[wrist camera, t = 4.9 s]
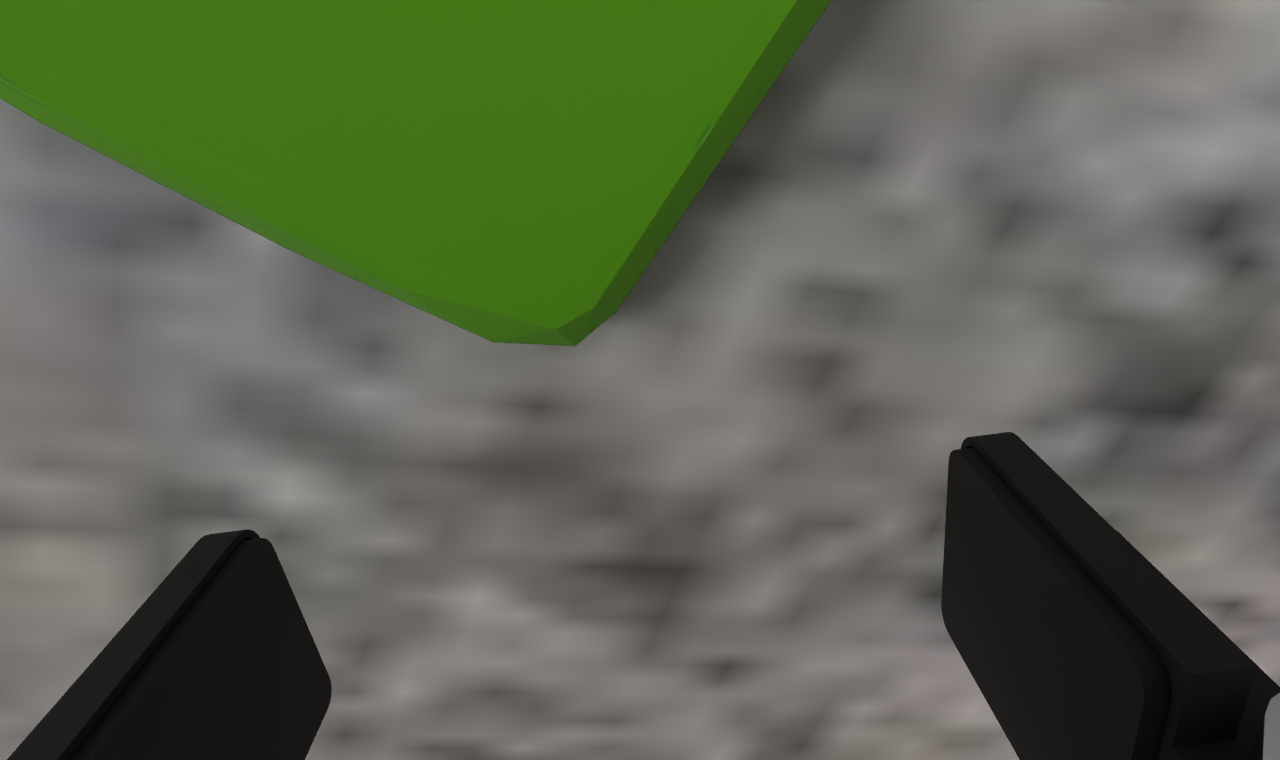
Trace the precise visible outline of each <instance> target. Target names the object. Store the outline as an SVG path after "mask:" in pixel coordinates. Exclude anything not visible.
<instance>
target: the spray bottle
mask: <svg viewBox="0 0 1280 760" xmlns="http://www.w3.org/2000/svg"><path fill="white" fill-rule="evenodd" d="M830 1H831V0H0V98H1V99H2V100H4V101H6V102H7V103H9V104H11V105H12V106H14V107H16V108H17V109H19V110H21V111H22V112H24V113H26V114H27V115H29V116H31V117H33V118H34V119H36V120H38V121H39V122H41V123H43V124H45V125H47V126H49V127H51V128H53V129H55V130H57V131H59V132H61V133H63V134H65V135H67V136H68V137H70V138H72V139H74V140H76V141H78V142H80V143H82V144H84V145H86V146H88V147H90V148H92V149H94V150H96V151H98V152H100V153H102V154H104V155H106V156H107V157H109V158H111V159H113V160H115V161H117V162H119V163H121V164H123V165H125V166H127V167H129V168H131V169H133V170H135V171H137V172H139V173H141V174H143V175H144V176H146V177H148V178H150V179H152V180H154V181H156V182H158V183H160V184H162V185H164V186H166V187H168V188H170V189H172V190H174V191H176V192H178V193H180V194H182V195H183V196H185V197H187V198H189V199H191V200H193V201H195V202H197V203H199V204H201V205H203V206H205V207H207V208H209V209H211V210H213V211H215V212H217V213H219V214H220V215H222V216H224V217H226V218H228V219H230V220H232V221H234V222H236V223H238V224H240V225H242V226H244V227H246V228H248V229H250V230H252V231H254V232H256V233H258V234H259V235H261V236H263V237H265V238H267V239H269V240H271V241H273V242H275V243H277V244H279V245H281V246H283V247H285V248H287V249H289V250H291V251H293V252H296V253H298V254H300V255H302V256H304V257H307V258H309V259H311V260H313V261H315V262H318V263H320V264H322V265H324V266H326V267H329V268H331V269H333V270H335V271H337V272H340V273H342V274H344V275H346V276H348V277H351V278H353V279H355V280H357V281H359V282H362V283H364V284H366V285H368V286H370V287H373V288H375V289H377V290H379V291H381V292H384V293H386V294H388V295H390V296H392V297H395V298H397V299H399V300H401V301H403V302H406V303H408V304H410V305H412V306H414V307H417V308H419V309H421V310H423V311H426V312H428V313H430V314H432V315H434V316H437V317H439V318H441V319H443V320H445V321H448V322H450V323H452V324H454V325H456V326H459V327H461V328H463V329H465V330H467V331H470V332H472V333H474V334H476V335H478V336H481V337H483V338H485V339H487V340H489V341H492V342H502V343H524V344H545V345H566V346H576V345H577V344H578V343H579V342H580V341H582V340H583V339H584V338H585V337H587V336H588V335H589V334H590V333H591V332H593V331H594V330H595V329H596V328H597V327H599V326H600V325H601V324H602V323H603V322H605V321H606V320H607V319H608V318H609V317H611V316H612V315H613V314H614V313H615V312H616V311H617V310H618V308H619V307H620V305H621V304H622V303H623V301H624V300H625V298H626V297H627V295H628V294H629V292H630V291H631V290H632V288H633V287H634V285H635V284H636V282H637V281H638V279H639V278H640V277H641V275H642V274H643V272H644V271H645V269H646V268H647V266H648V265H649V263H650V262H651V261H652V259H653V258H654V256H655V255H656V253H657V252H658V250H659V249H660V248H661V246H662V245H663V243H664V242H665V240H666V239H667V237H668V236H669V234H670V233H671V232H672V230H673V229H674V227H675V226H676V224H677V223H678V221H679V220H680V219H681V217H682V216H683V214H684V213H685V211H686V210H687V208H688V207H689V205H690V204H691V203H692V201H693V200H694V198H695V197H696V195H697V194H698V192H699V191H700V190H701V188H702V187H703V185H704V184H705V182H706V181H707V179H708V178H709V177H710V175H711V174H712V172H713V171H714V169H715V168H716V166H717V165H718V163H719V162H720V161H721V159H722V158H723V156H724V155H725V153H726V152H727V150H728V149H729V148H730V146H731V145H732V143H733V142H734V140H735V139H736V137H737V136H738V134H739V133H740V132H741V130H742V129H743V127H744V126H745V124H746V123H747V121H748V120H749V119H750V117H751V116H752V114H753V113H754V111H755V110H756V108H757V107H758V106H759V104H760V103H761V101H762V100H763V98H764V97H765V95H766V94H767V92H768V91H769V90H770V88H771V87H772V85H773V84H774V82H775V81H776V79H777V78H778V77H779V75H780V74H781V72H782V71H783V69H784V68H785V66H786V65H787V63H788V62H789V61H790V59H791V58H792V56H793V55H794V53H795V52H796V50H797V49H798V48H799V46H800V45H801V43H802V42H803V40H804V39H805V37H806V36H807V35H808V33H809V32H810V30H811V29H812V27H813V26H814V24H815V23H816V21H817V20H818V19H819V17H820V16H821V14H822V13H823V11H824V10H825V8H826V7H827V6H828V4H829V3H830Z"/></svg>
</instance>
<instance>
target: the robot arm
mask: <svg viewBox="0 0 1280 760" xmlns="http://www.w3.org/2000/svg"><path fill="white" fill-rule="evenodd" d="M941 606H942V615H943V619H944V623H945V626H946V629H947V631H948V633H949V635H950V637H951V639H952V640H953V642H954V644H955V646H956V647H957V649H958V651H959V653H960V655H961V656H962V658H963V660H964V662H965V663H966V665H967V667H968V669H969V670H970V672H971V674H972V676H973V678H974V679H975V681H976V683H977V685H978V686H979V688H980V690H981V692H982V694H983V695H984V697H985V699H986V701H987V702H988V704H989V706H990V708H991V709H992V711H993V713H994V715H995V717H996V718H997V720H998V722H999V724H1000V725H1001V727H1002V729H1003V731H1004V732H1005V734H1006V736H1007V738H1008V740H1009V741H1010V743H1011V745H1012V747H1013V748H1014V750H1015V752H1016V754H1017V756H1018V757H1019V759H1020V760H1280V687H1279V686H1278V685H1277V684H1276V683H1275V682H1274V681H1273V680H1272V679H1271V678H1270V677H1269V676H1268V675H1266V674H1265V673H1264V672H1263V671H1262V670H1261V669H1260V668H1259V667H1258V666H1257V665H1256V664H1255V663H1254V662H1253V661H1252V660H1251V659H1250V658H1249V657H1248V656H1247V655H1246V654H1245V653H1244V652H1243V651H1242V650H1240V649H1239V648H1238V647H1237V646H1236V645H1235V644H1234V643H1233V642H1232V641H1231V640H1230V639H1229V638H1228V637H1227V636H1226V635H1225V634H1224V633H1223V632H1222V631H1221V630H1220V629H1219V628H1218V627H1217V626H1216V625H1214V624H1213V623H1212V622H1211V621H1210V620H1209V619H1208V618H1207V617H1206V616H1205V615H1204V614H1203V613H1202V612H1201V611H1200V610H1199V609H1198V608H1197V607H1196V606H1195V605H1194V604H1193V603H1192V602H1191V601H1189V600H1188V599H1187V598H1186V597H1185V596H1184V595H1183V594H1182V593H1181V592H1180V591H1179V590H1178V589H1177V588H1176V587H1175V586H1174V585H1173V584H1172V583H1171V582H1170V581H1169V580H1168V579H1167V578H1166V577H1165V576H1163V575H1162V574H1161V573H1160V572H1159V571H1158V570H1157V569H1156V568H1155V567H1154V566H1153V565H1152V564H1151V563H1150V562H1149V561H1148V560H1147V559H1146V558H1145V557H1144V556H1143V555H1142V554H1141V553H1140V552H1139V551H1137V550H1136V549H1135V548H1134V547H1133V546H1132V545H1131V544H1130V543H1129V542H1128V541H1127V540H1126V539H1125V538H1124V537H1123V536H1122V535H1121V534H1120V533H1119V532H1117V531H1116V530H1115V529H1114V528H1113V527H1111V526H1110V525H1109V524H1108V523H1107V522H1106V521H1105V520H1104V519H1103V518H1102V517H1101V516H1100V515H1099V514H1098V513H1097V512H1096V511H1095V510H1094V509H1093V508H1092V507H1091V506H1090V505H1089V504H1088V503H1087V502H1086V501H1084V500H1083V499H1082V498H1081V497H1080V496H1079V495H1078V494H1077V493H1076V492H1075V491H1074V490H1073V489H1072V488H1071V487H1070V486H1069V485H1068V484H1067V483H1066V482H1065V481H1064V480H1063V479H1062V478H1061V477H1060V476H1059V475H1057V474H1056V473H1055V472H1054V471H1053V470H1052V469H1051V468H1050V467H1049V466H1048V465H1047V464H1046V463H1045V462H1044V461H1043V460H1042V459H1041V458H1040V457H1039V456H1038V455H1037V454H1036V453H1035V452H1034V451H1033V450H1032V449H1030V448H1029V447H1028V446H1027V445H1026V444H1025V443H1024V442H1023V441H1022V440H1021V439H1020V438H1019V437H1018V436H1017V435H1015V434H1014V433H1011V432H1006V433H998V434H990V435H982V436H975V437H967V438H966V439H965V440H964V441H963V443H962V446H961V449H958V450H953V451H952V452H951V454H950V457H949V467H948V487H947V506H946V525H945V544H944V563H943V583H942V602H941ZM331 689H332V688H331V681H330V678H329V675H328V673H327V670H326V668H325V666H324V663H323V661H322V659H321V656H320V654H319V652H318V649H317V647H316V645H315V642H314V640H313V638H312V636H311V633H310V631H309V629H308V626H307V624H306V622H305V619H304V617H303V615H302V612H301V610H300V608H299V605H298V603H297V601H296V598H295V596H294V594H293V591H292V589H291V587H290V585H289V582H288V580H287V578H286V575H285V573H284V571H283V568H282V566H281V564H280V561H279V559H278V557H277V554H276V552H275V550H274V547H273V546H272V544H271V542H270V541H268V540H267V539H264V538H260V537H259V535H258V534H257V533H255V532H254V531H252V530H240V531H232V532H224V533H216V534H210V535H206V536H204V537H202V538H201V539H200V540H199V541H198V542H197V543H196V544H195V545H194V546H193V547H192V549H191V550H190V551H189V552H188V553H187V554H186V555H185V557H184V558H183V559H182V560H181V561H180V562H179V564H178V565H177V566H176V567H175V568H174V569H173V570H172V572H171V573H170V574H169V575H168V576H167V577H166V578H165V580H164V581H163V582H162V583H161V584H160V585H159V586H158V588H157V589H156V590H155V591H154V592H153V593H152V594H151V596H150V597H149V598H148V599H147V600H146V601H145V602H144V604H143V605H142V606H141V607H140V608H139V609H138V610H137V612H136V613H135V614H134V615H133V616H132V617H131V618H130V620H129V621H128V622H127V623H126V624H125V625H124V626H123V628H122V629H121V630H120V631H119V632H118V633H117V634H116V636H115V637H114V638H113V639H112V640H111V641H110V642H109V644H108V645H107V646H106V647H105V648H104V649H103V651H102V652H101V653H100V654H99V655H98V656H97V657H96V659H95V660H94V661H93V662H92V663H91V664H90V665H89V667H88V668H87V669H86V670H85V671H84V672H83V673H82V675H81V676H80V677H79V678H78V679H77V680H76V681H75V683H74V684H73V685H72V686H71V687H70V688H69V689H68V691H67V692H66V693H65V694H64V695H63V696H62V697H61V699H60V700H59V701H58V702H57V703H56V704H55V705H54V707H53V708H52V709H51V710H50V711H49V712H48V713H47V715H46V716H45V717H44V718H43V719H42V720H41V721H40V723H39V724H38V725H37V726H36V727H35V728H34V729H33V731H32V732H31V733H30V734H29V735H28V736H27V737H26V739H25V740H24V741H23V742H22V743H21V744H20V746H19V747H18V748H17V749H16V750H15V751H14V752H13V754H12V755H11V756H10V757H9V758H8V759H7V760H305V758H306V756H307V754H308V751H309V749H310V747H311V745H312V742H313V740H314V738H315V736H316V734H317V731H318V729H319V727H320V725H321V723H322V720H323V718H324V716H325V714H326V711H327V709H328V707H329V704H330V700H331Z"/></svg>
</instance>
